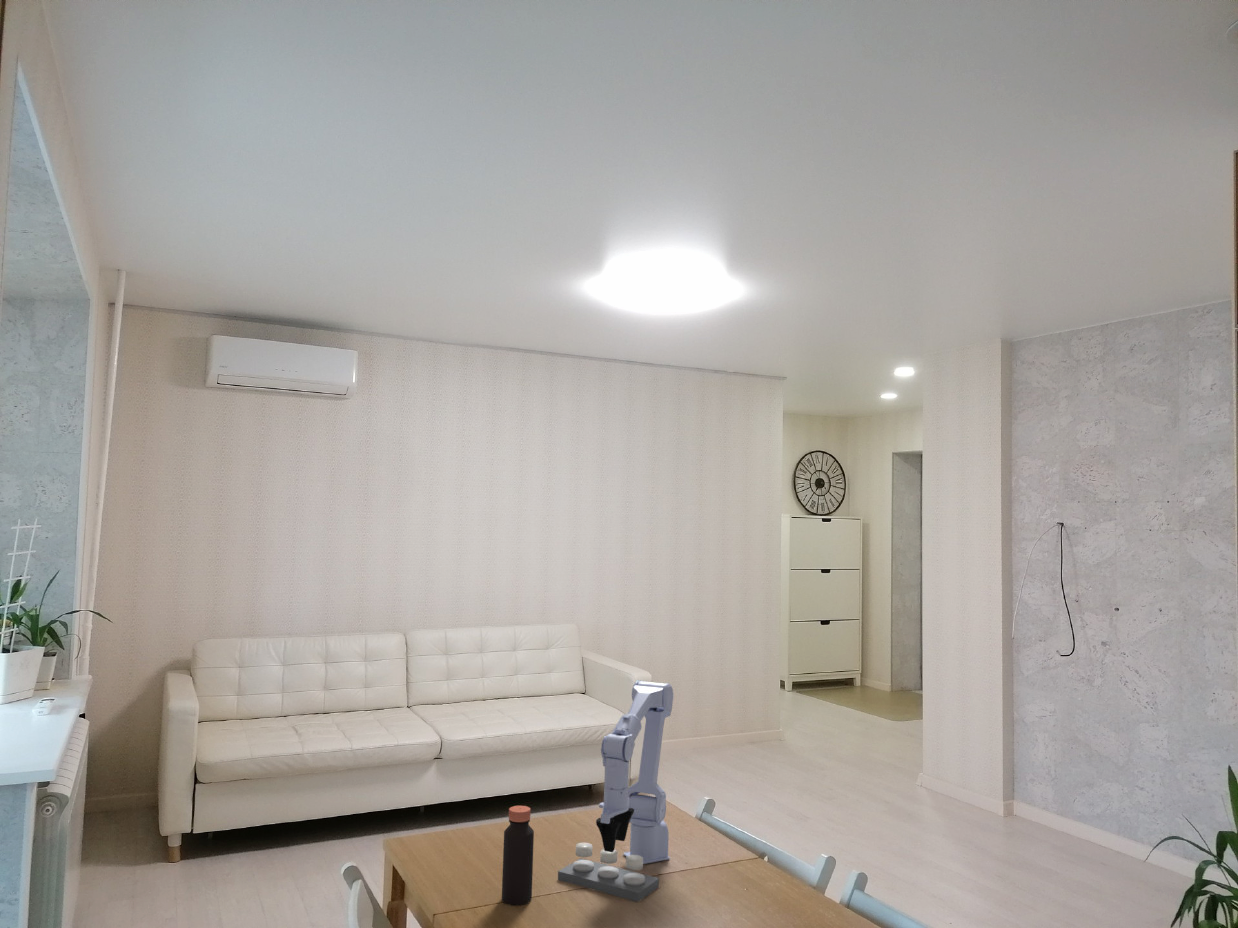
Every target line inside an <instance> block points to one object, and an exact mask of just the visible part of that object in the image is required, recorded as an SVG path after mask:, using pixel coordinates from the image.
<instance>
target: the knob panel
mask: <svg viewBox="0 0 1238 928" xmlns="http://www.w3.org/2000/svg"><path fill="white" fill-rule="evenodd" d="M557 880H558V881H560V882H564V883H568V884H572V885H574V886H578V887H582V888H587V889H590V890H593V891H597V892H599V893H600V892H601V893H605V894H608V895H611V896H614V897H618V898H622V899H626V900H629V901H633V902H637V903H639V902H641V901H642V900H643V899H644V898H646V897H648V896H649V895H650V894H651V893H653V892H655V890H657V889H658V888H659V887H660V878H659V877H656V876H651V875H648V874H643V873H639V872H636V871H634V870H629V869H624V868H621V867H616V866H612V865H610V864H607V863H603V862H601V863H600V862H597V861H594V860H589V859H586V858H583V857H580V858H578V859H577V860H575V861H574V862H571V863H570V864H568V865H566V866H565V867H563V868H561V869H560V870H558V871H557Z"/></svg>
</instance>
